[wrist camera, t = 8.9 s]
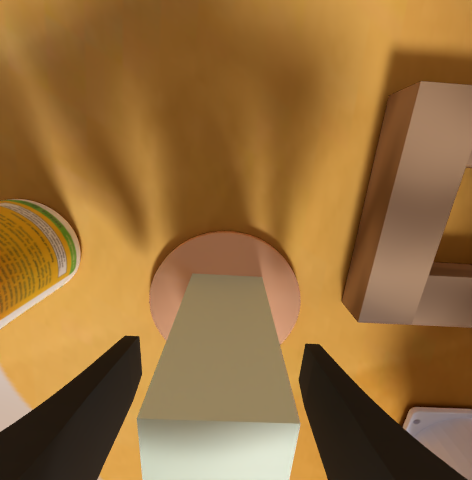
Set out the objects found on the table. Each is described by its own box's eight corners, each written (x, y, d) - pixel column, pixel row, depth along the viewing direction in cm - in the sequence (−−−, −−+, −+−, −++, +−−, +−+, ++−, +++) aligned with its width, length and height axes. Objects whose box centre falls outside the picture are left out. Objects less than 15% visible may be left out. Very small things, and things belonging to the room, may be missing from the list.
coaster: (287, 360, 16) (289, 368, 15) (155, 355, 16) (152, 362, 15) (308, 235, 13) (311, 238, 13) (149, 226, 13) (145, 229, 12)
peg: (256, 334, 15) (281, 519, 7) (191, 331, 14) (146, 516, 7) (262, 277, 13) (300, 423, 6) (192, 273, 13) (136, 418, 6)
